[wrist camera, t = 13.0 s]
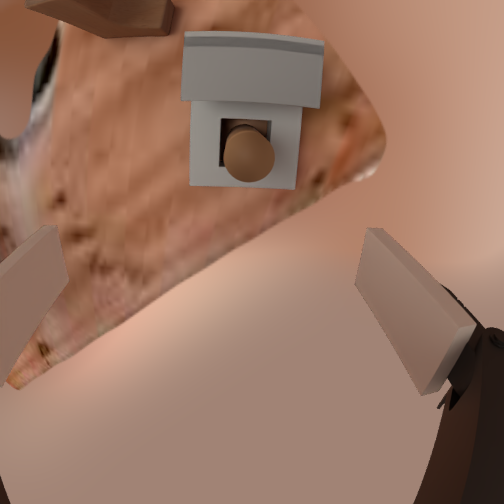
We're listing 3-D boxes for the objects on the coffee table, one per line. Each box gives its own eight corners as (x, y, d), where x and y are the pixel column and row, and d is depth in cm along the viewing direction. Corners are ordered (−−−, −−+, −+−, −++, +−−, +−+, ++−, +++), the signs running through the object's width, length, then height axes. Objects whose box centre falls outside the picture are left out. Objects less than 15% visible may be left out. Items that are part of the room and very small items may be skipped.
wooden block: (175, 5, 27) (135, -59, 11) (169, 36, 29) (120, -13, 13) (108, 9, 26) (36, -36, 10) (102, 39, 28) (21, 8, 12)
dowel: (226, 155, 37) (222, 181, 24) (227, 123, 35) (224, 131, 22) (258, 156, 37) (273, 183, 24) (260, 125, 35) (276, 134, 23)
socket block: (193, 177, 38) (179, 204, 28) (198, 52, 30) (184, 31, 21) (288, 181, 38) (308, 209, 29) (298, 58, 31) (324, 41, 22)
